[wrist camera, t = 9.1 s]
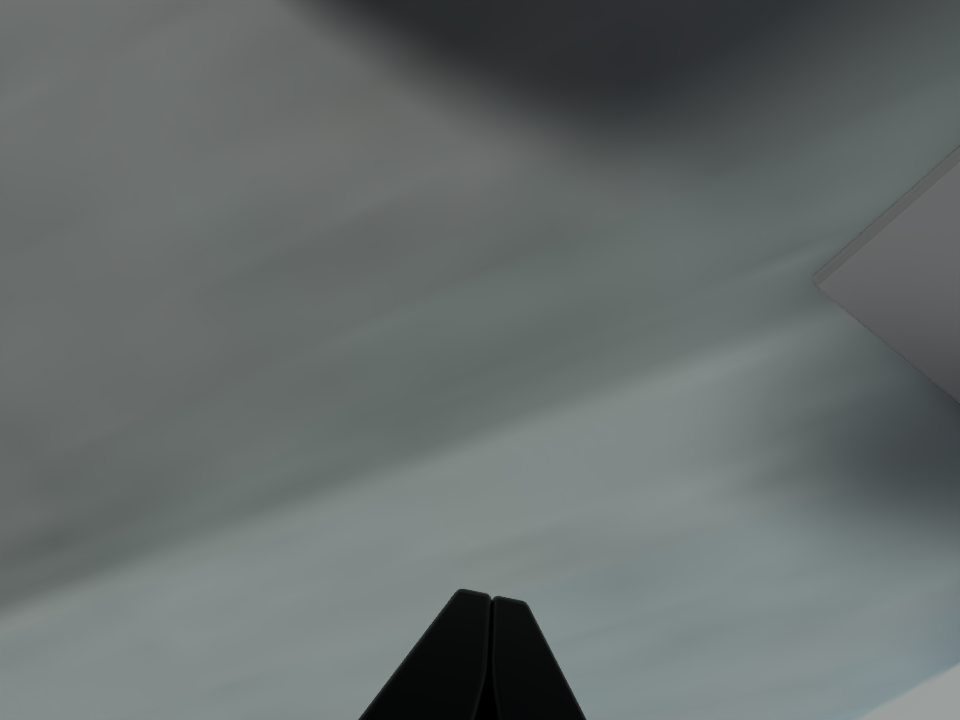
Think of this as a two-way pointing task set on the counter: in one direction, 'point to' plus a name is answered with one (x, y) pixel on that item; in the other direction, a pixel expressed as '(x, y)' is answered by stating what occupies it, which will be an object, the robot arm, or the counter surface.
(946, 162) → the mat
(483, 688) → the robot arm
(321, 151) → the counter surface
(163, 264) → the counter surface
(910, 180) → the counter surface
